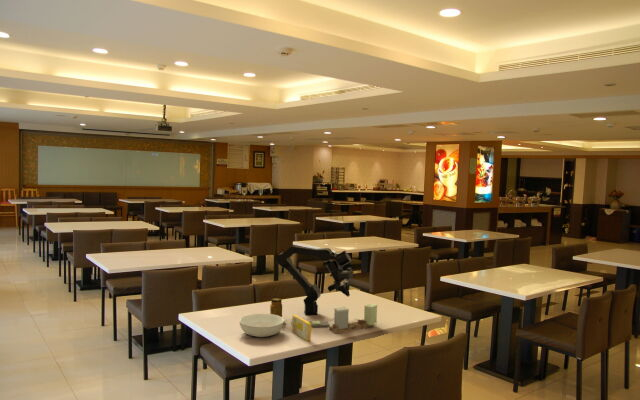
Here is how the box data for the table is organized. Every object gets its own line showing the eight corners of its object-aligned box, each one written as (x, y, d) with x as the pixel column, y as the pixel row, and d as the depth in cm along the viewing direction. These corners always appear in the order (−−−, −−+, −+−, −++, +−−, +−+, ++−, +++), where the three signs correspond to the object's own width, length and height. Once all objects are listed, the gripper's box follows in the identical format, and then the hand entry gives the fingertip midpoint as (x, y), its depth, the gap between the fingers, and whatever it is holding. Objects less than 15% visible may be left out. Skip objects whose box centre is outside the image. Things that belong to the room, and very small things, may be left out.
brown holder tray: (338, 334, 230) (338, 327, 230) (327, 329, 237) (327, 322, 237) (376, 325, 245) (376, 318, 245) (364, 321, 252) (365, 314, 252)
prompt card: (309, 327, 240) (310, 324, 240) (307, 323, 247) (307, 320, 247) (329, 327, 242) (329, 323, 242) (327, 322, 249) (327, 319, 249)
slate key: (333, 327, 236) (334, 308, 236) (343, 325, 239) (344, 307, 238) (338, 329, 232) (338, 310, 232) (348, 327, 235) (348, 309, 235)
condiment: (270, 320, 251) (270, 297, 251) (286, 320, 251) (287, 297, 251) (268, 324, 244) (269, 300, 244) (285, 324, 244) (285, 301, 244)
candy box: (311, 341, 221) (311, 323, 221) (307, 341, 220) (307, 323, 220) (295, 330, 235) (295, 313, 235) (291, 331, 234) (291, 314, 234)
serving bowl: (250, 344, 215) (250, 329, 215) (232, 331, 233) (232, 317, 233) (291, 336, 226) (292, 322, 226) (271, 324, 244) (271, 311, 244)
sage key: (363, 323, 242) (364, 305, 242) (369, 321, 247) (369, 303, 246) (371, 325, 240) (371, 307, 239) (376, 322, 244) (377, 304, 244)
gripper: (336, 270, 248) (350, 298, 246) (354, 259, 263) (368, 285, 261) (321, 278, 255) (335, 304, 253) (339, 266, 269) (353, 291, 268)
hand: (348, 296), depth 259 cm, fingers closed
